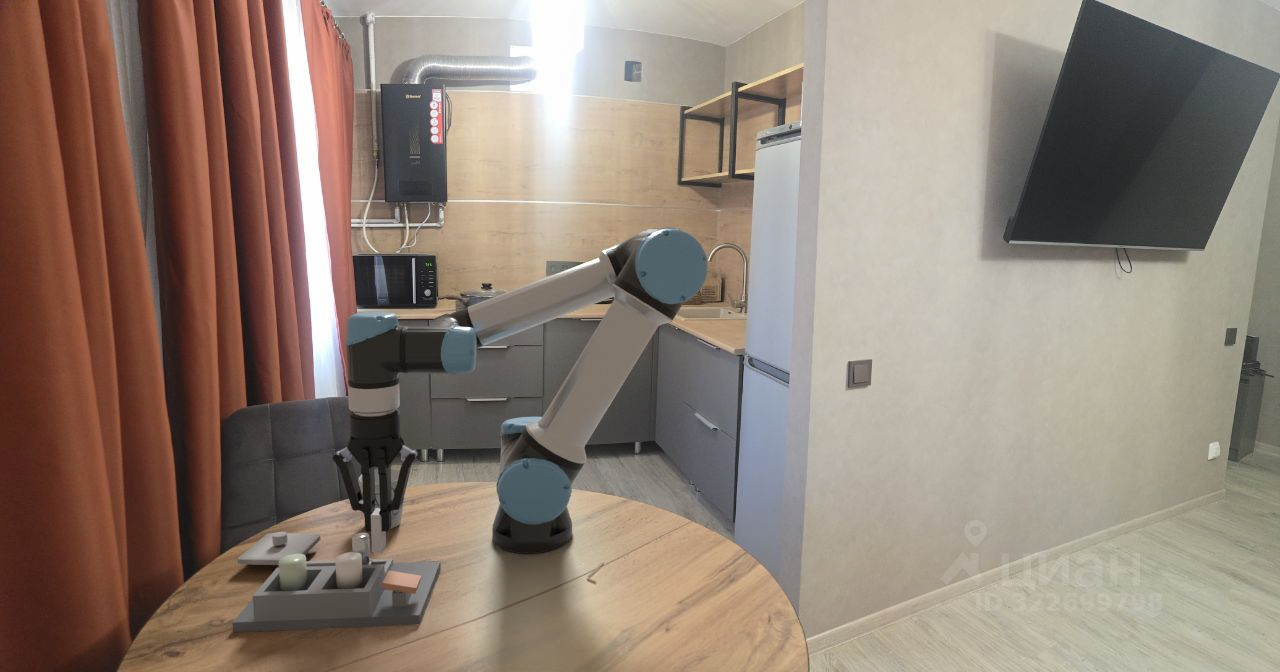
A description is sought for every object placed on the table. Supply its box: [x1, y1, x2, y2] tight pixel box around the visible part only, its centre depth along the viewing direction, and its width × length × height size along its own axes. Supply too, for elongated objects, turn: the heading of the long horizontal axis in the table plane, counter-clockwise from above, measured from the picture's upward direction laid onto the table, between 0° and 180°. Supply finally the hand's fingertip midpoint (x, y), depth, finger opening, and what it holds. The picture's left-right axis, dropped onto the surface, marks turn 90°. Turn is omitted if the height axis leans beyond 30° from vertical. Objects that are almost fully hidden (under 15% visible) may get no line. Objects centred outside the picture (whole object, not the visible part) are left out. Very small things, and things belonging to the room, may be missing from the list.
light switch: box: [237, 531, 321, 566], centre depth 114 cm, size 10×10×5 cm
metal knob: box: [351, 532, 373, 565], centre depth 107 cm, size 3×3×6 cm
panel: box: [231, 558, 442, 633], centre depth 103 cm, size 26×16×6 cm, turn 96°
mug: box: [358, 468, 405, 530], centre depth 130 cm, size 11×8×10 cm
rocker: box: [381, 571, 421, 594], centre depth 100 cm, size 5×4×1 cm
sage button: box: [278, 554, 307, 591], centre depth 98 cm, size 4×4×4 cm
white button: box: [334, 551, 363, 589], centre depth 98 cm, size 4×4×4 cm
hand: (379, 548), depth 108 cm, fingers closed
